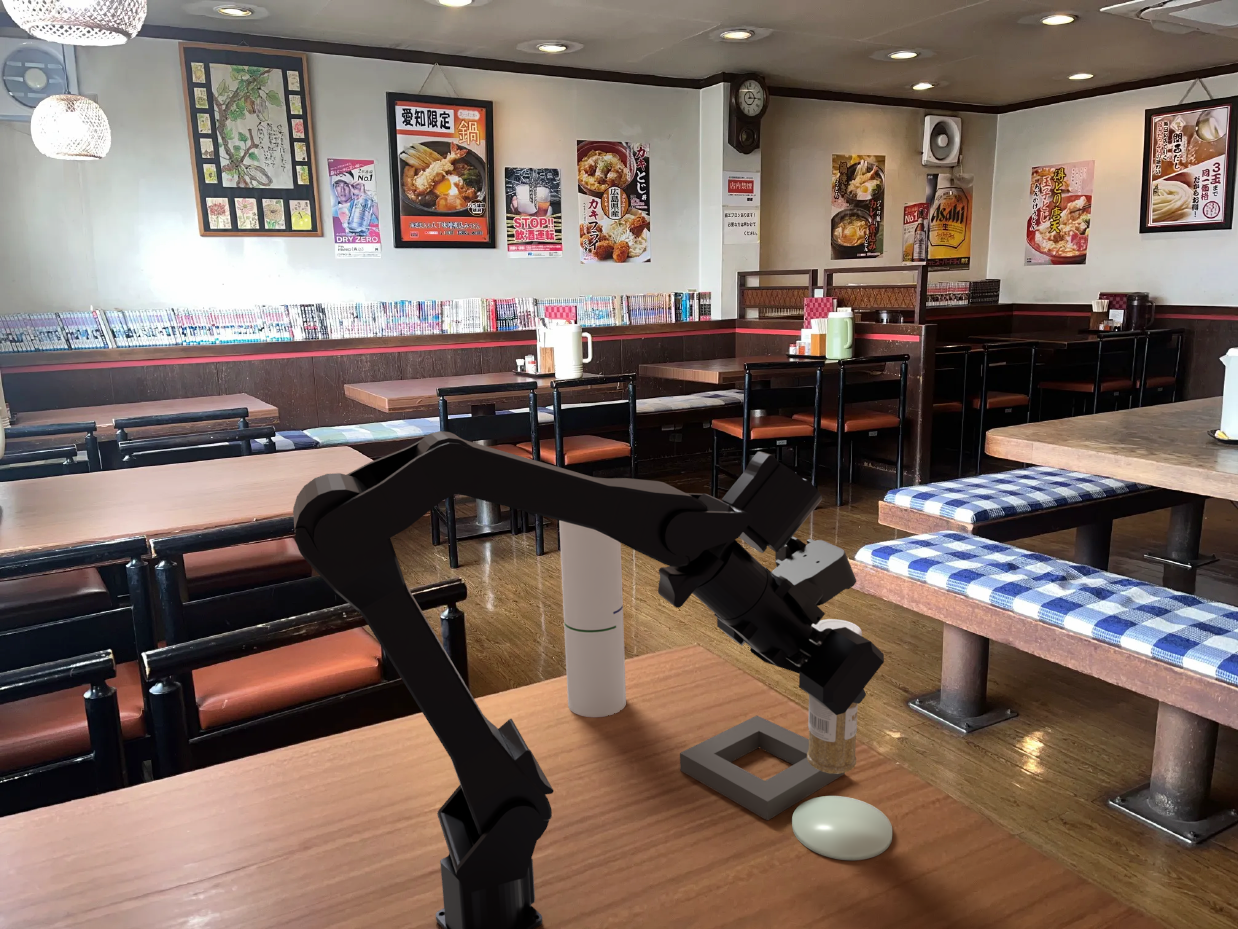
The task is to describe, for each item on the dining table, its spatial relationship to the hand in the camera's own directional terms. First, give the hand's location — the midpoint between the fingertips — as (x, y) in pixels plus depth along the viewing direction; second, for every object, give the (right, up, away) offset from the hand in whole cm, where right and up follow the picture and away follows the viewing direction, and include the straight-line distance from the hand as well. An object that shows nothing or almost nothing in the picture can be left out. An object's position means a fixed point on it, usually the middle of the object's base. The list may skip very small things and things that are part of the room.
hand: (846, 688), depth 80 cm
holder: (-6, -12, +11) cm, 17 cm away
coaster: (0, -13, +1) cm, 13 cm away
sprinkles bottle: (-1, -7, +1) cm, 8 cm away
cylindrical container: (-24, -9, +28) cm, 37 cm away
